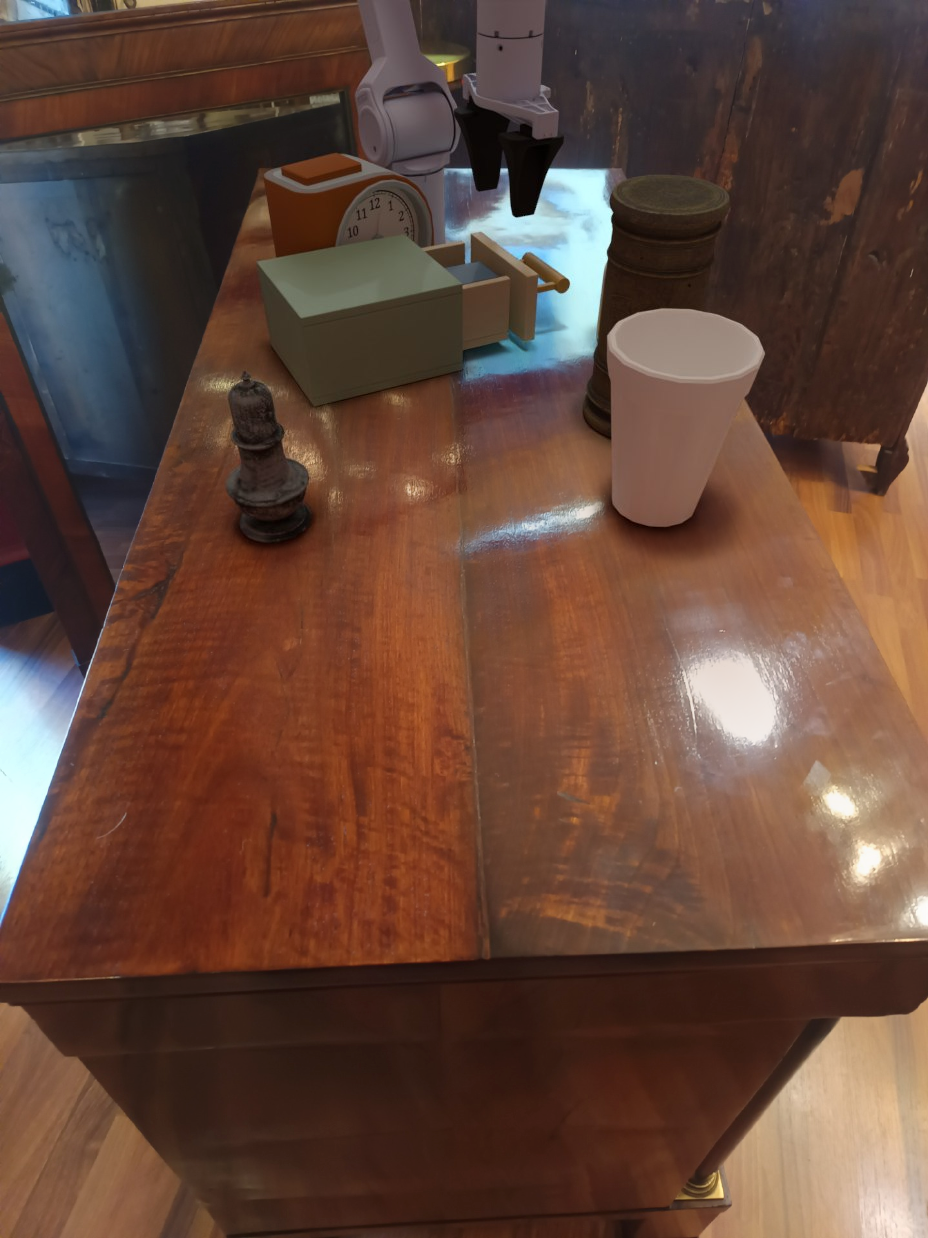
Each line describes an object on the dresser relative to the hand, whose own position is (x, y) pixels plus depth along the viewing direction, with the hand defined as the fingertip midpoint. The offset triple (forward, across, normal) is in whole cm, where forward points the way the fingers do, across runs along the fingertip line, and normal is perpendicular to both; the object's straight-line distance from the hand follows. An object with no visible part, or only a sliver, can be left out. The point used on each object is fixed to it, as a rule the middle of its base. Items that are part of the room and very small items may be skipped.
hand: (504, 201), depth 79 cm
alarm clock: (+10, +7, +13) cm, 18 cm away
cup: (+10, -36, +6) cm, 38 cm away
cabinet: (+10, -5, +17) cm, 21 cm away
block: (+8, -5, +6) cm, 11 cm away
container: (+10, -25, 0) cm, 27 cm away
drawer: (+9, -5, +6) cm, 12 cm away
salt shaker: (+10, -25, +32) cm, 42 cm away
